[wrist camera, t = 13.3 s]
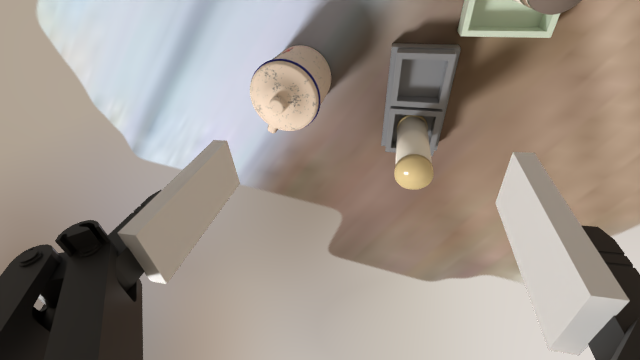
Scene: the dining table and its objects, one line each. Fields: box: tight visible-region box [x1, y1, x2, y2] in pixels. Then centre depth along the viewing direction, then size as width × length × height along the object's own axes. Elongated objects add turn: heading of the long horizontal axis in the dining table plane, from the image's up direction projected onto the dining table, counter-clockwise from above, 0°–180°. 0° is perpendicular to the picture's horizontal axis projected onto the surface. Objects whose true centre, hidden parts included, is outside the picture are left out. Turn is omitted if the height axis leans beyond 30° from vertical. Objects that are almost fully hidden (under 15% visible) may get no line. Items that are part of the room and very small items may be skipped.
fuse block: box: [381, 43, 461, 156], centre depth 40 cm, size 14×8×4 cm, turn 2°
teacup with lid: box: [250, 45, 331, 133], centre depth 40 cm, size 12×9×12 cm
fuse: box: [395, 115, 433, 189], centre depth 37 cm, size 4×4×12 cm
